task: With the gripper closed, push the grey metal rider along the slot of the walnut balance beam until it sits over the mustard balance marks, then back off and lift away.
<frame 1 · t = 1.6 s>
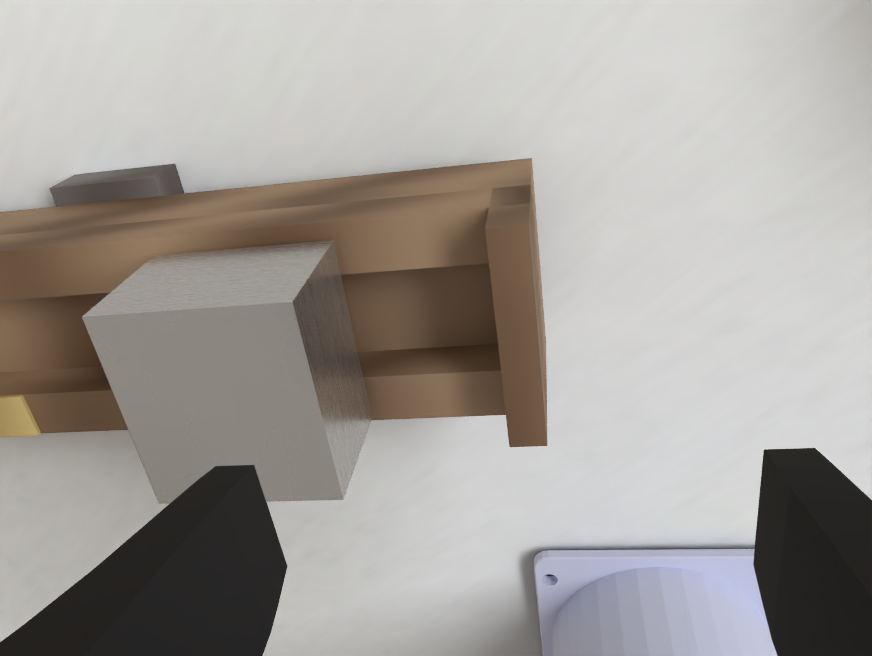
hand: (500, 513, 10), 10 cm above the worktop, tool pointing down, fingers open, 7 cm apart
rider: (256, 355, 15), point 5 cm above the worktop, slide at -5.0 cm
beam: (159, 269, 21), on the worktop
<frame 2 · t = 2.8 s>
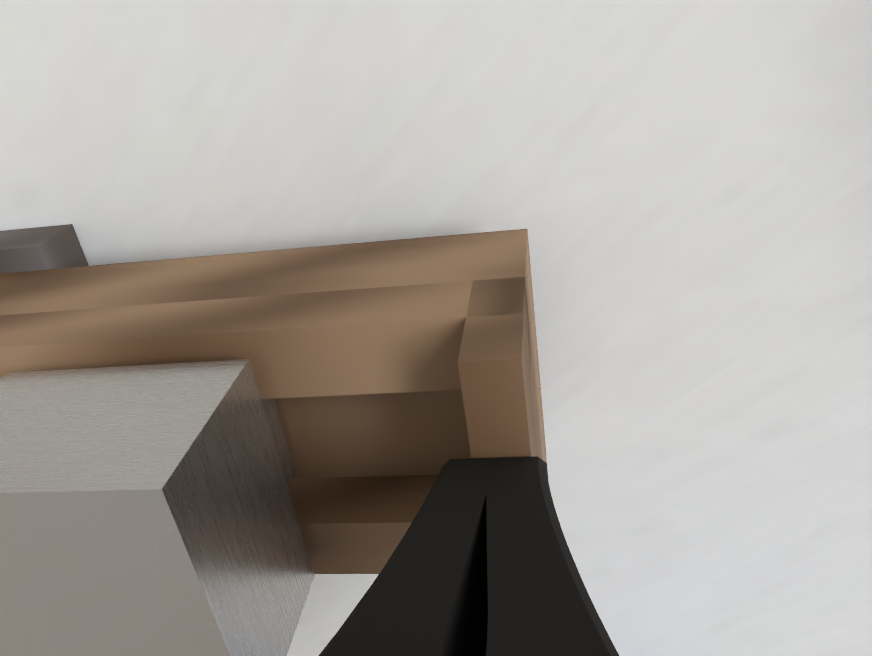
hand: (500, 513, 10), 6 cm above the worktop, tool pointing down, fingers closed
rider: (149, 509, 11), point 5 cm above the worktop, slide at -5.0 cm
beam: (62, 350, 17), on the worktop
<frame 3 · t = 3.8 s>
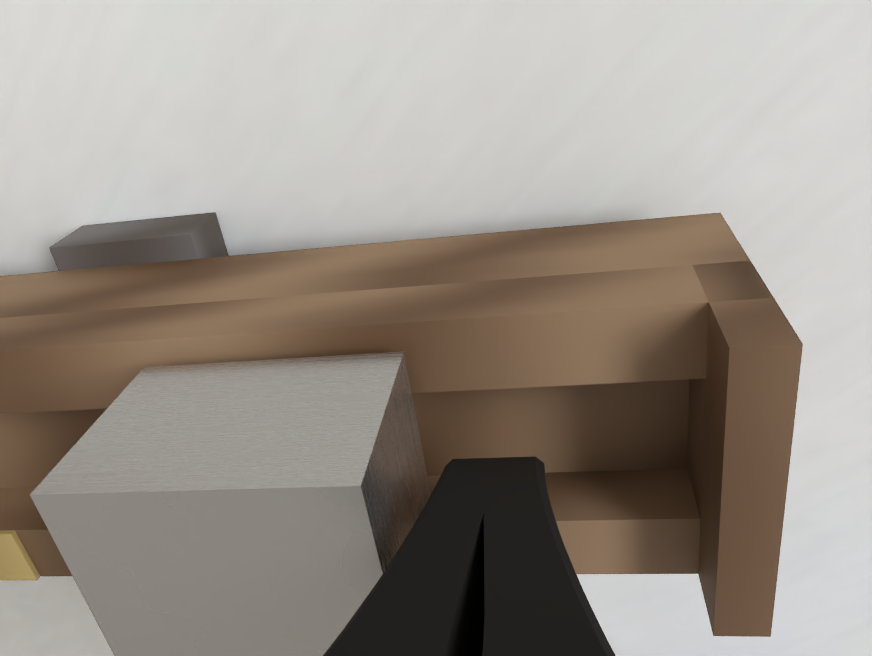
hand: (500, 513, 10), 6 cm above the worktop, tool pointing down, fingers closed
rider: (290, 508, 11), point 5 cm above the worktop, slide at -4.1 cm, touching gripper
beam: (191, 344, 16), on the worktop
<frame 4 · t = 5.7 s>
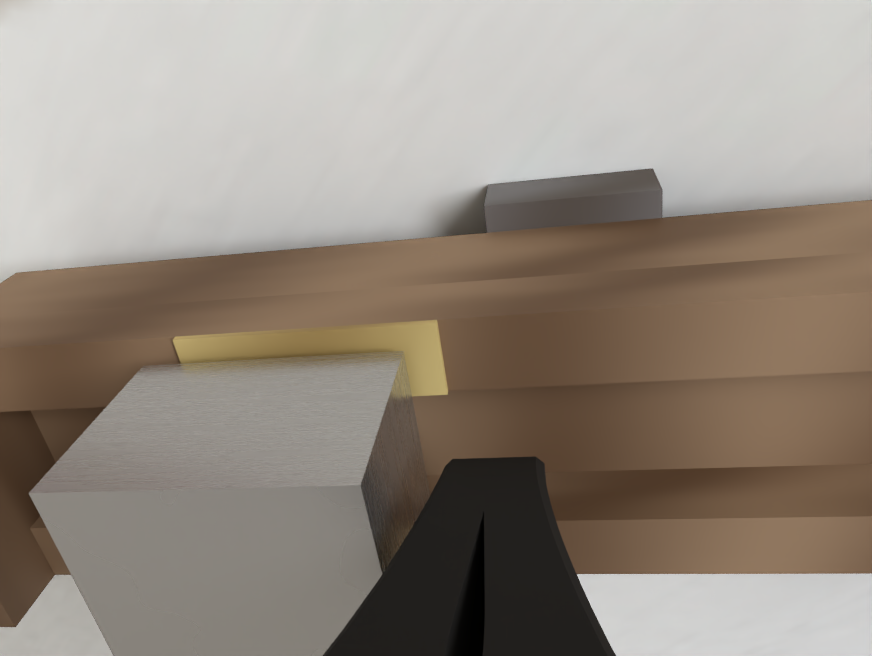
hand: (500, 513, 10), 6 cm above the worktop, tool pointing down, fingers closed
rider: (289, 507, 11), point 5 cm above the worktop, slide at 4.5 cm, touching gripper
beam: (576, 319, 15), on the worktop
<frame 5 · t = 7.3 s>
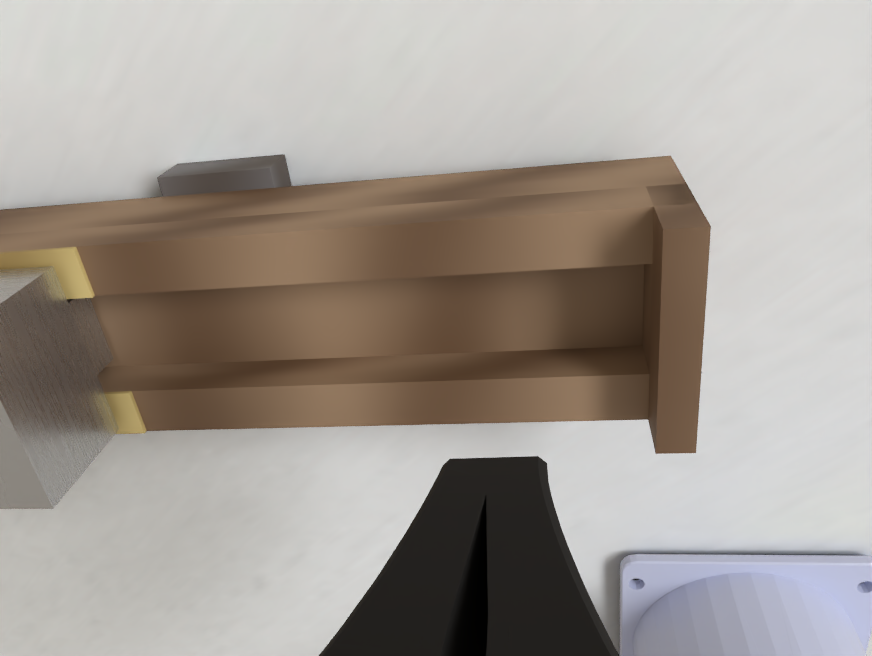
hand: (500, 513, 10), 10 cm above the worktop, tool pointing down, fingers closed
beam: (257, 263, 20), on the worktop
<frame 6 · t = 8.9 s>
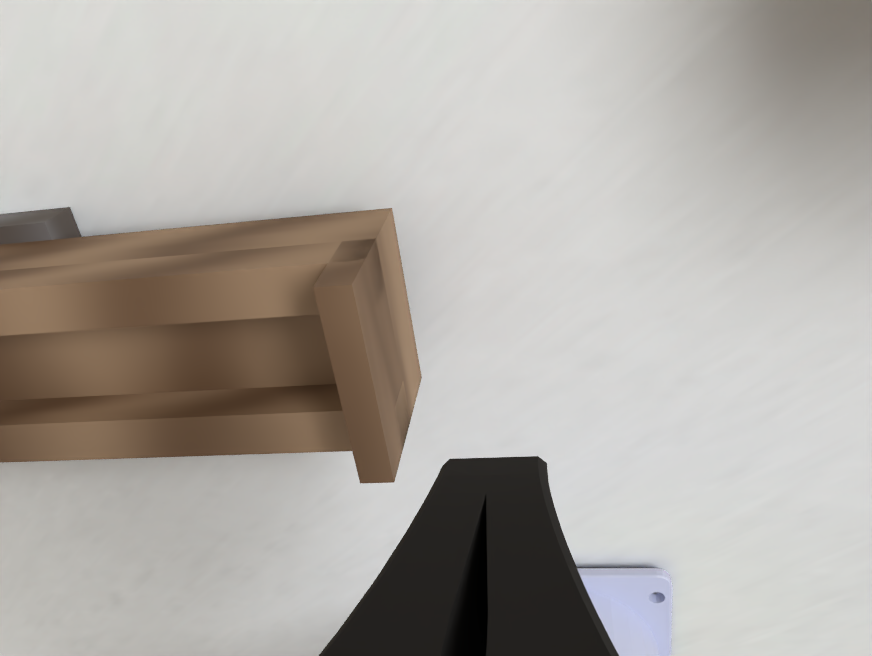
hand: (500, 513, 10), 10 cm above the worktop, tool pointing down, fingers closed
beam: (62, 305, 22), on the worktop
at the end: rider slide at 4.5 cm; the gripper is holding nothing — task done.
